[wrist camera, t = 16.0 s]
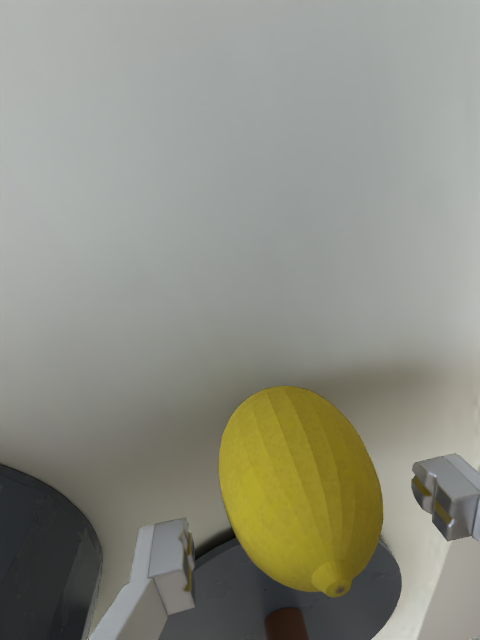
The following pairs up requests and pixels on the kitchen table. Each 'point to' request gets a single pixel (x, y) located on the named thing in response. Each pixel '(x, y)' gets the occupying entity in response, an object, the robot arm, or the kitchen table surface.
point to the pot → (44, 563)
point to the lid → (282, 602)
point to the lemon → (300, 490)
